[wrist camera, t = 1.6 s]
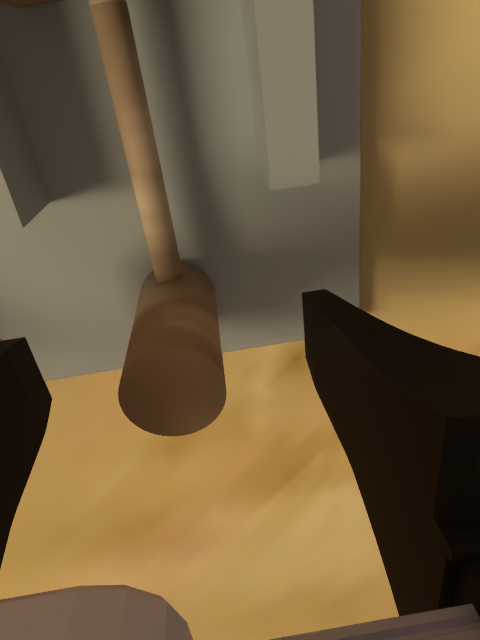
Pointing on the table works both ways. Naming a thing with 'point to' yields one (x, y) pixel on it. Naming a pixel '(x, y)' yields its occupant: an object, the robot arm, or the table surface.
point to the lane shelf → (178, 169)
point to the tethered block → (158, 265)
